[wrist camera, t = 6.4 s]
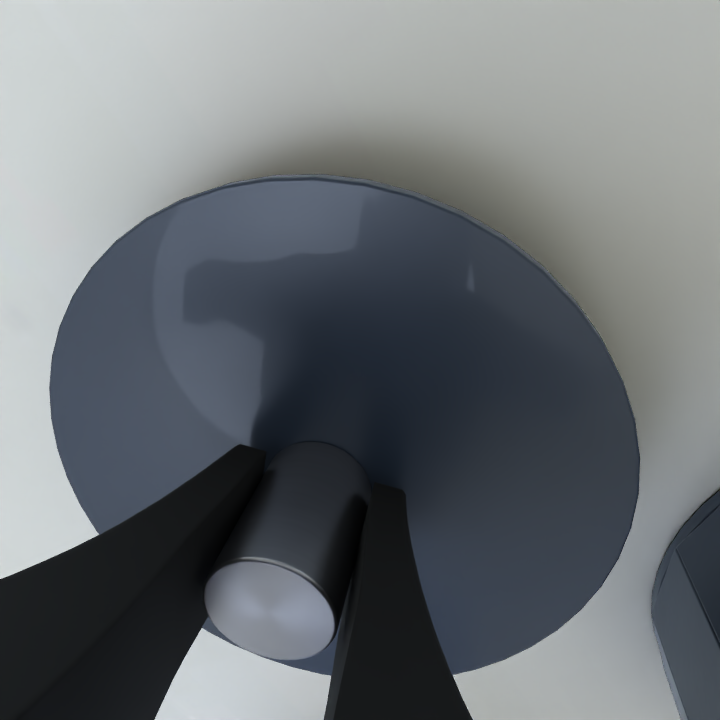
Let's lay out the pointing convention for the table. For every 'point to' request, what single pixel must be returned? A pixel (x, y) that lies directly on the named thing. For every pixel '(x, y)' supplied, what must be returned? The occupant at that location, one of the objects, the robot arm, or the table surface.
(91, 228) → the table surface
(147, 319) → the pan lid
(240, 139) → the table surface
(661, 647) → the pan
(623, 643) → the table surface
